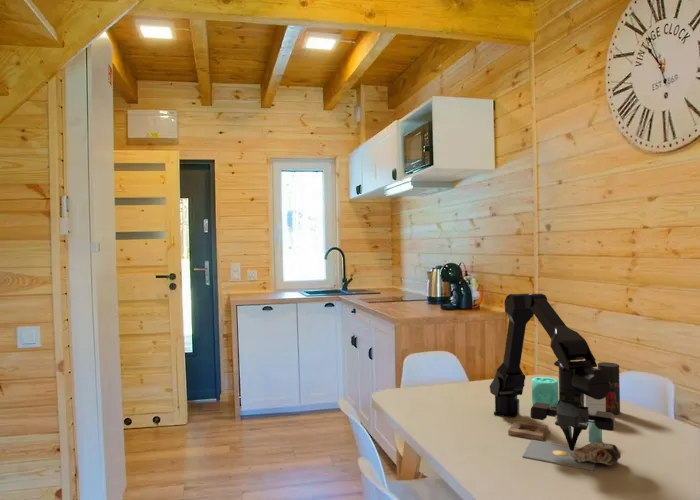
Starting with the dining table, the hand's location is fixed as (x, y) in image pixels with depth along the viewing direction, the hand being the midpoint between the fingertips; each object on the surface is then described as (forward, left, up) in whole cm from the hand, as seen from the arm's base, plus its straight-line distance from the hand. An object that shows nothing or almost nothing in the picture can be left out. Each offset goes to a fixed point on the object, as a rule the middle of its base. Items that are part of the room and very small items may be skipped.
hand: (572, 450), depth 123 cm
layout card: (-3, 0, -2) cm, 3 cm away
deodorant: (+6, +41, -2) cm, 42 cm away
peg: (+4, +13, -2) cm, 14 cm away
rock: (+6, -1, -2) cm, 6 cm away
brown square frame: (-13, +12, -2) cm, 18 cm away
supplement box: (+2, +33, -2) cm, 33 cm away
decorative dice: (-13, +41, -2) cm, 43 cm away
